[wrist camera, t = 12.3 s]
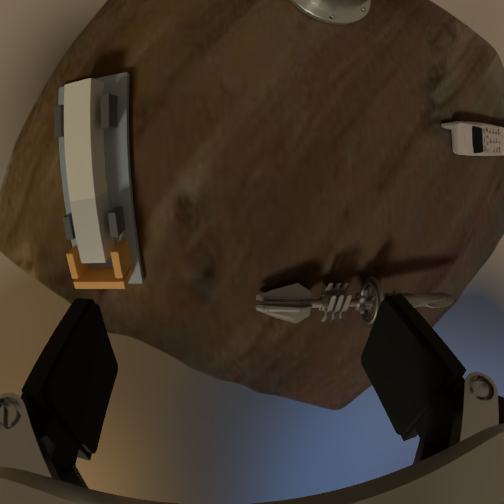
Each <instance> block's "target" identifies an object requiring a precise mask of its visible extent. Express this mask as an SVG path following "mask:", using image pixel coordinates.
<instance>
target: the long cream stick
mask: <svg viewBox="0 0 504 504" xmlns="http://www.w3.org/2000/svg"><path fill="white" fill-rule="evenodd" d="M103 94H104V83H103V82H101V81H98V80H96V79H93V78H88V79H84V80H80V81H77V82H73V83H69V84H66V85H65V88H64V144H65V161H66V173H67V183H68V191H69V199H70V206H71V213H72V219H73V225H74V230H75V236H76V241H77V246H78V251H79V255H80V260H81V263H106V262H107V260H108V259H109V258H110V256H111V253H110V252H111V251H112V250H113V248H114V247H115V244H114V238H113V237H111V234H110V227H109V221H108V213H109V212H110V210H109V201H108V192H107V182H106V170H105V155H104V129H103V128H101V95H103Z"/></svg>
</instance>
